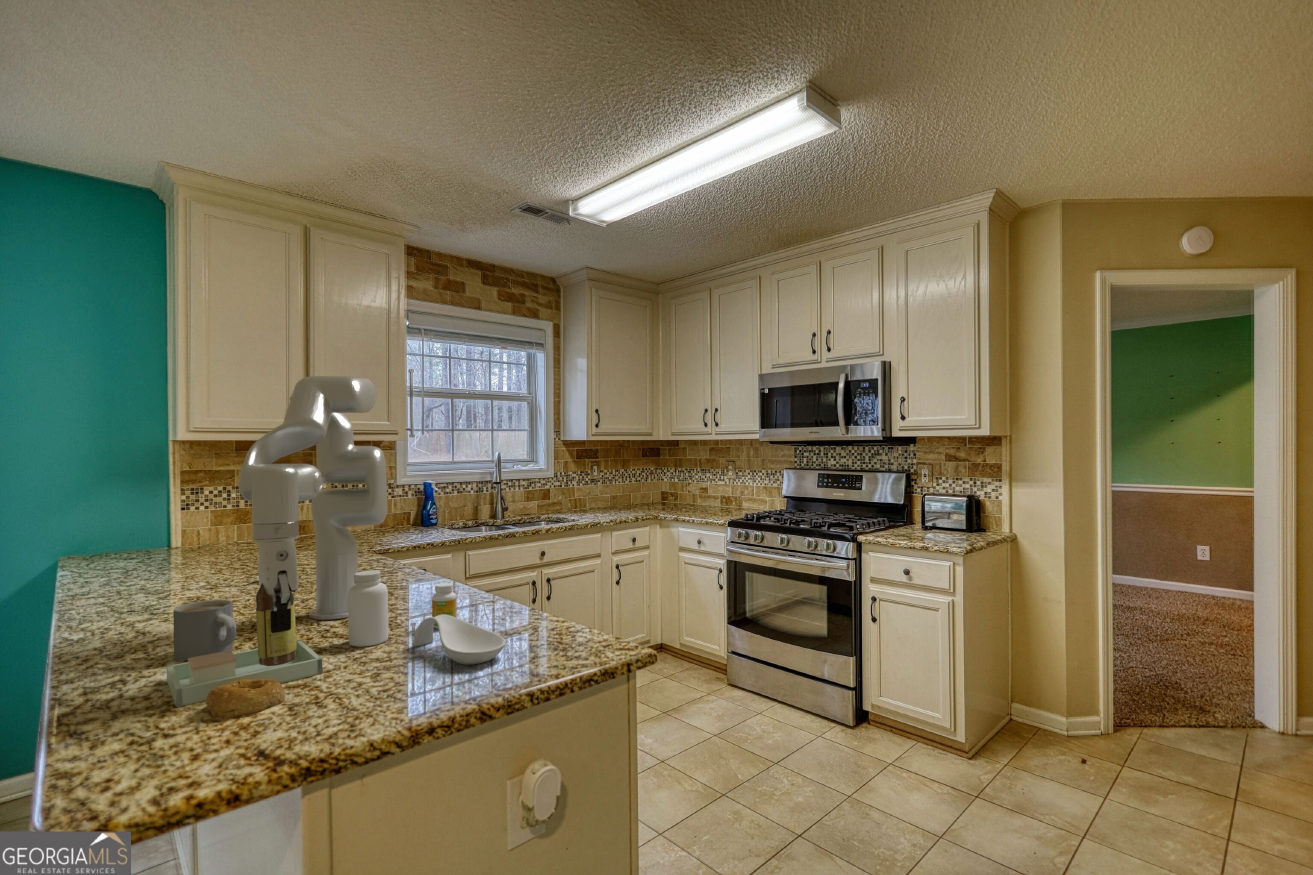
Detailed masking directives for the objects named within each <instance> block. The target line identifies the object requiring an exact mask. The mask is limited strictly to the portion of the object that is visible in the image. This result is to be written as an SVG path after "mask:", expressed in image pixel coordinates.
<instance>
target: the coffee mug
mask: <svg viewBox="0 0 1313 875" xmlns="http://www.w3.org/2000/svg"><path fill="white" fill-rule="evenodd" d="M233 605H234V604H233V601H232V600H230V599H229V600H228V599H211V600H203V601H202V600H201V601H194V602H190V603H186V604H182V605H179V606H176V607H174V609H173V661H175V662H183V661H188V658H192V657H197V656H202V655H208V654H213V653H218V652H223V651H229V650H231V651H232V652H233V650H234V641H235V640H236V637H237V625H236V622H235V619H234V614H233V612H234V611H233V610H234V609H233V608H234V607H233Z"/></svg>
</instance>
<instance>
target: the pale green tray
mask: <svg viewBox="0 0 1313 875" xmlns="http://www.w3.org/2000/svg"><path fill="white" fill-rule="evenodd" d="M296 647H297V648H296V657H295V659H294V660H292V661H290V662H288V663H285V664H282V665H276V666H265V665H260V663H259V657H258V648H254V649H253V648H252V649H249V650H244V651H238V652H235V653H234V652H232V653H233V654H234V655H235V657H236V658H237V662H235V676H233V677H228V678H224V679H219V680H214V681H210V682H205V683H200V684H196V685H191V686H190V684H189V663H188V661H186V662H181V663H177V664H172V665H171V664H170V665H167V666H166V682H167V685H168V689H169V691H170V694H171V696H172V699H173V702H174V704H175V707H176V708H179V707H183V706H184V707H185V706H187V705H192V704H196V703H200V702H201V703H202V702H206V699H207V695H208V694H209V692H210V691H211V690H212V689H214V688H216V687H218V686H221V685H224V684H227V683H229V682H232V681H239V680H242V679H251V680H256V679H263V680H265V679H271V680H275V681H278V682H279V683H280V684H283V683H287V682H292V681H297V680H300V679H305V678H311V677H314V676H318V675H322V674H323V658H322V657H321V656H320V655H319V654H318V653H316V652H315V651H314V650H313V649H312V648H311V647H310V646H308V644H306V643H305V642H303V641H302V640H301V639H300V640H296Z"/></svg>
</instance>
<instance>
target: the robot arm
mask: <svg viewBox="0 0 1313 875" xmlns="http://www.w3.org/2000/svg"><path fill="white" fill-rule="evenodd" d="M376 400H377V392H376V388H375V385H374V383H373V382H372V381H371V380H370V379H369V378H368V377H367V378H366V377H357V376H350V375H349V376H348V375H341V376H340V375H309V376H306V377H303V378H301V379H299V380H298V381H297V382H296V383H295V386H294V388H293V391H292V394H291V397H290V400H289V404H288V406H287V410H286V414H285V415H284V419H283V422H282V424H279V425H278V426H276V427H274V428H273V429H272V430H269V431H268V432H267V433H265V434H264V435H263V436H261V437H260V438H259V439H258V440H257V441H255V442H254V443H253V444H252V445H251V446H250V448H249V449H248V451H247V453H246V455H245V458H244V462H243V464H242V466H241V470H240V472H239V477H238V484H237V485H238V491H239V494H240V495H241V497H242V498H243V499H244V500H246V501H248V502H250V503H251V526H252V529H251V533H252V534H251V537H252V539H251V541H252V542H254V543H258V548H257V549H258V567H257V568H258V586H259V588H260V587H261V584H262V583H263V586H264V588H265V590H266V593H267V594H269V595H271V599H272V609H273V611H270V612H271V632H272V633H277V632H283V631H288V630H290V629H291V604H290V591H289V589H290V590H291V591H292V593H296V592H298V590H299V576H298V572H299V571H298V559H297V558H298V557H297V549H296V541H295V540H296V539H299V537H300V535H299V534H300V530H299V528H300V527H299V525H300V523H299V520H300V519H299V516H300V515H299V502H306V501H309V500H310V501H311V504H310V510H311V515H312V521H313V526H314V536H315V592H316V593H315V595H316V596H315V598H316V599H315V600H316V607H315V608H313V609H311V611H309V615H308V616H309V618H310V619H312V620H316V621H317V620H318V621H319V620H320V621H327V620H328V621H329V620H331V621H332V620H340V619H345V618H348V591H349V589H350V588H351V587H353V586H355V585H356V584H355V583H354V582H355V581H354V574H355V573H358V572H359V564H358V563H359V562H358V560H359V559H358V554H359V552H358V551H359V549H358V548H359V546H358V541H357V539H356V537H355V536H354V535H353V533H352V532H351V530H349V529H348V528H347V527H362V526H363V527H364V526H377V525H380V524H382V523H384V521H385V520H386V518H387V514H388V487H387V486H388V485H387V484H388V481H387V477H388V476H387V462H386V456H385V453H384V452H383V450H382V449H381V448H380V447H378V446H374V445H355V444H354V443H355V442H354V427H353V426H354V425H353V424H352V422H351V421H350V419H349V418H348V417H347V416H346V415H345V414H352V413H353V414H364V413H365V414H366V413H369V412H370V411H371V410H373V408H374V407H375V404H376ZM314 446H316V449H315V450H316V466H314V465H312V464H309V463H274V462H277V460H280V459H281V458H284V457H286V456H289V455H291V454H294V453H298V452H301V451H303V450H306V449H309V448H311V447H314ZM323 483H325V484H331V485H333V484H334V485H335V484H340V485H341V484H363V485H364V486H366V488H364V487H363V488H331V489H325V490H322V488H323ZM321 490H322V491H321ZM280 554H281V555H282V556H280ZM288 584H289V585H288ZM277 590H280V593H275V591H277ZM276 597H279V598H278V599H277V603H276Z"/></svg>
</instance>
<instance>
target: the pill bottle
mask: <svg viewBox="0 0 1313 875" xmlns="http://www.w3.org/2000/svg"><path fill="white" fill-rule="evenodd" d="M381 577H382V576H381V571H380V570H377V569H376V570H364V571H358V573H355V574H354V581H355V582H354V583H355V584H356V585H355V586H353V587H351V588H350V589H349V591H348V617H347V618H348V619H347V623H348V624H347V626H348V629H347V630H348V632H347V633H348V644H349V645H350V646H352V647H360V648H361V647H362V648H364V647H371V646H376V645H379V644H382V643H385V642H387V640H388V638H389V594H388V592H389V589H388V586H387V585H386V584H385V583H383V582H381V581H382V579H381Z"/></svg>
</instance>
